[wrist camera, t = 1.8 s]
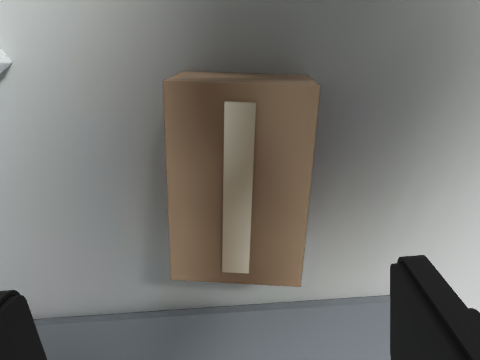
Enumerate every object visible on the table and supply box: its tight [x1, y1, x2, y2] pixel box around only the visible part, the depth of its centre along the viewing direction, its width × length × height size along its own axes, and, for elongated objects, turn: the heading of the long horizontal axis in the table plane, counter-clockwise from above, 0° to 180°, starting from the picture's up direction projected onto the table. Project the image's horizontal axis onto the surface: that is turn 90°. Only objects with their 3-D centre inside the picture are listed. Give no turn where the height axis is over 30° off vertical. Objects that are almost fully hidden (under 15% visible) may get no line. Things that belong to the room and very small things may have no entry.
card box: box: [163, 71, 320, 287], centre depth 18 cm, size 6×9×5 cm, turn 178°
